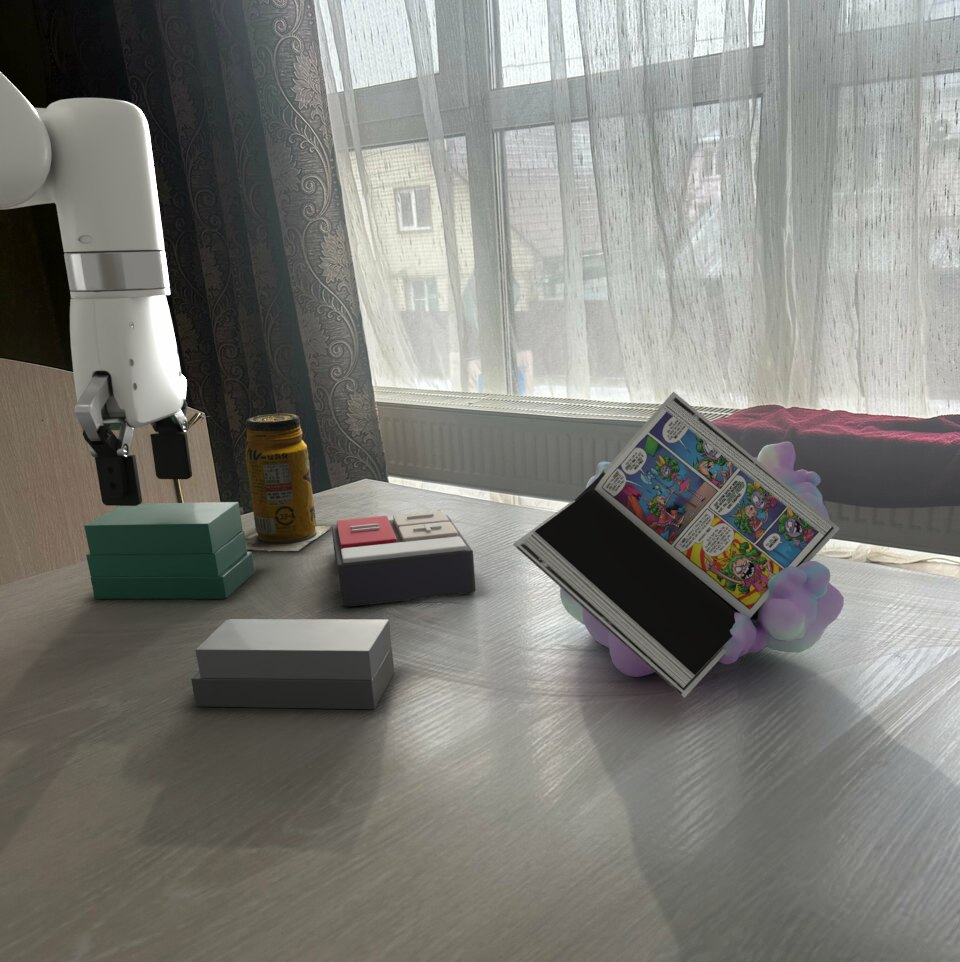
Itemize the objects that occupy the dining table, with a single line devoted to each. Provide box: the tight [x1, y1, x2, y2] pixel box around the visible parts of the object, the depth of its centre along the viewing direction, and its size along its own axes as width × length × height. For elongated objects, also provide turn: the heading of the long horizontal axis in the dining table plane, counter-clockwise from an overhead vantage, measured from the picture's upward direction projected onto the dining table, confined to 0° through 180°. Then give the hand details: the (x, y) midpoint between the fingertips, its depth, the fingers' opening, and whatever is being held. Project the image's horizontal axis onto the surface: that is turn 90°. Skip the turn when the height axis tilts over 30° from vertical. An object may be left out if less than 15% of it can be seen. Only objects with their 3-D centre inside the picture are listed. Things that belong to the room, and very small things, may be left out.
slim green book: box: [83, 501, 244, 555], centre depth 87 cm, size 11×7×3 cm, turn 82°
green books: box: [85, 530, 256, 600], centre depth 88 cm, size 12×7×4 cm, turn 82°
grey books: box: [190, 618, 395, 710], centre depth 66 cm, size 12×6×4 cm, turn 82°
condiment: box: [244, 413, 333, 553], centre depth 98 cm, size 7×8×12 cm
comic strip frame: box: [512, 391, 845, 699], centre depth 67 cm, size 20×22×18 cm
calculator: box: [331, 509, 476, 608], centre depth 88 cm, size 11×4×15 cm
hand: (150, 490), depth 85 cm, fingers open, 9 cm apart
